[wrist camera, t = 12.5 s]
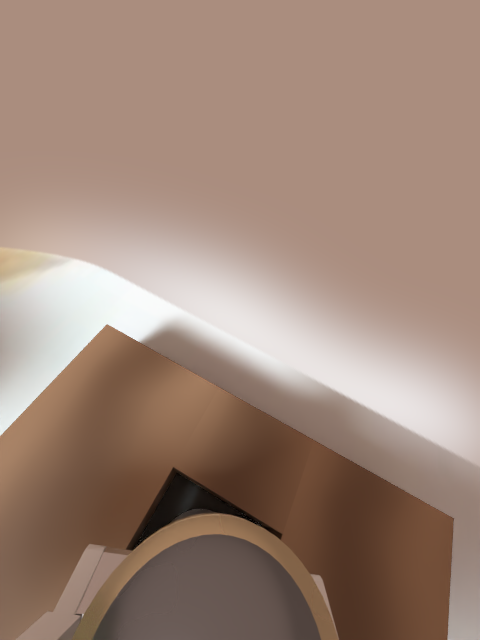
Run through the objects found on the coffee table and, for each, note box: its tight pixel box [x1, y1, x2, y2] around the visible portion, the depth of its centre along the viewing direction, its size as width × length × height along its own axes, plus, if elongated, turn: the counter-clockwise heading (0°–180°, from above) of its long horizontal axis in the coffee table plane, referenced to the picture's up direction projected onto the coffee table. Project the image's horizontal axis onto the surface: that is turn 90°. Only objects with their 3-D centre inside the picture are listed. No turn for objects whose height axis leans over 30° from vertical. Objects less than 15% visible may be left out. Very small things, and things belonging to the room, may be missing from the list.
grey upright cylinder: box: [71, 509, 339, 640], centre depth 9 cm, size 5×5×10 cm
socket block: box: [0, 325, 454, 640], centre depth 13 cm, size 20×14×4 cm
